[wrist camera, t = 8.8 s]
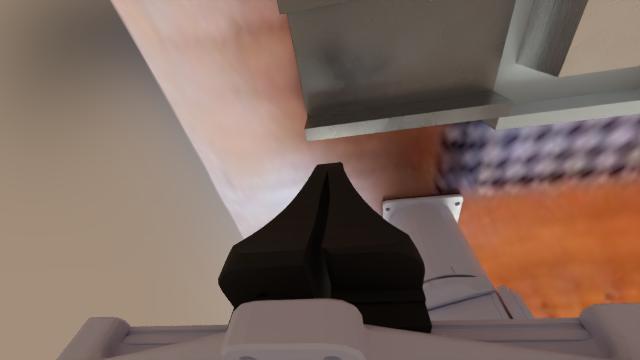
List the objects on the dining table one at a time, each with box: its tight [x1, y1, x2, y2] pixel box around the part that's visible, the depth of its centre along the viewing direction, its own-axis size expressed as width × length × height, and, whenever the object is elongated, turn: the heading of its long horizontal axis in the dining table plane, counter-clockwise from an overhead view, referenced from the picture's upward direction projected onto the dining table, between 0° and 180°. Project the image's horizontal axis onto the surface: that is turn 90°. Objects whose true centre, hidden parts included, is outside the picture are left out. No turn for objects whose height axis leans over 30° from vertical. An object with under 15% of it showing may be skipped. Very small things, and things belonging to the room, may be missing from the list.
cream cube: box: [516, 0, 640, 77], centre depth 14 cm, size 4×4×4 cm
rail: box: [277, 0, 516, 141], centre depth 16 cm, size 9×14×4 cm, turn 99°
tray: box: [483, 0, 640, 130], centre depth 15 cm, size 12×13×2 cm
